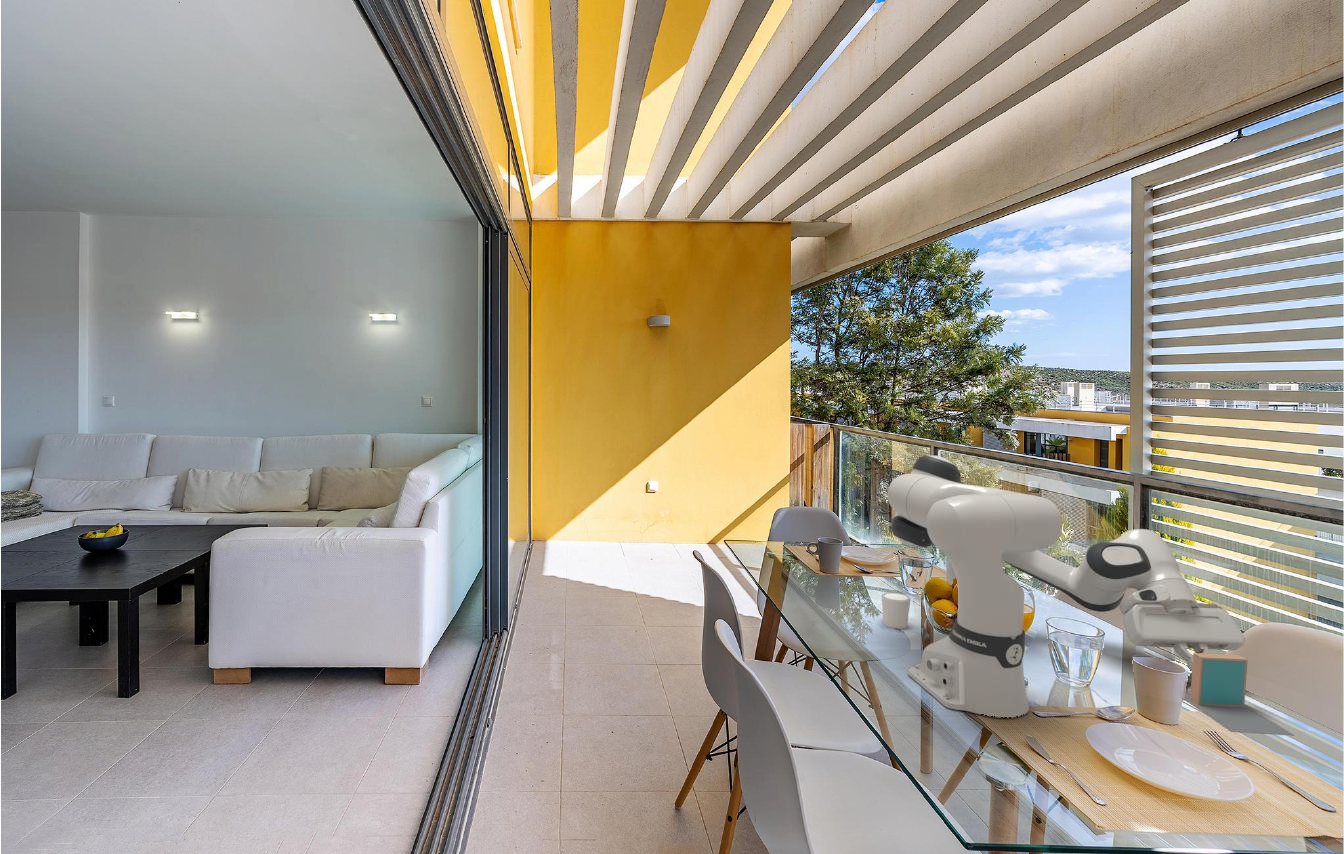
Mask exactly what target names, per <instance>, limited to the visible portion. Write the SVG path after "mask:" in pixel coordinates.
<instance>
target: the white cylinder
mask: <svg viewBox="0 0 1344 854" xmlns="http://www.w3.org/2000/svg"><path fill="white" fill-rule="evenodd" d="M911 601H912V598H911V597H910V596H909V595H907V594H903V593H899V592H885V593H882V594H881V606H882V623H883V625H884V626H886V627H888V628H892V629H893V628H894V629H905V628H907V627H908V623H909V622H908V621H909V614H910V609H911V608H910V607H911Z"/></svg>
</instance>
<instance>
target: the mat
mask: <svg viewBox="0 0 1344 854" xmlns="http://www.w3.org/2000/svg"><path fill="white" fill-rule="evenodd" d="M1185 693H1186V696H1185V698H1184V699H1183V700H1184V701H1185V702H1186V703H1189V704H1190V705H1191V706H1193V707H1194V708H1195V709H1197V710H1199V711H1200V712H1201V713H1203V714H1205V715H1206V716H1207V717H1209V718H1210V719H1212V720H1213V721H1215V722H1216V723H1217V724H1219V725H1221V726H1222V727H1223V728H1225V729H1227V730H1228V731H1230V732H1231V733H1245V734H1246V733H1248V734H1262V735H1263V734H1264V735H1279V736H1280V735H1281V736H1294V734H1293V733H1292V732H1290V731H1288V730H1287V729H1285V728H1284V727H1283V726H1280V725H1279V724H1277V723H1276V722H1274V721H1272V720H1271V719H1269V718H1267V717H1266V716H1265V715H1263V714H1261V713H1259V712H1257V711H1255V710H1254V709H1253V708H1251V707H1249V706H1248V705H1246V704H1244V707H1227V706H1208V705H1197V704H1196V703H1194V702H1193V701H1191V700H1190V696H1191V692H1185Z"/></svg>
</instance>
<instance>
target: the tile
mask: <svg viewBox="0 0 1344 854" xmlns="http://www.w3.org/2000/svg"><path fill="white" fill-rule="evenodd" d="M1192 653H1193V654H1192V656H1193V666H1192V669H1191V681H1190V683H1191V685H1190V693H1191V696H1190V700H1191V701H1193V702H1194V703H1196V704H1197V705H1208V706H1227V707H1244V704H1245V703H1246V702H1245V701H1246V688H1247V675H1248V674H1247V673H1248V664H1249V663H1248V662H1249V659H1248V658H1245V657H1244V656H1242V655H1239V654H1224V653H1222V654H1221V653H1217V654H1216V653H1208V654H1205V653H1195V652H1192ZM1245 705H1246V704H1245Z"/></svg>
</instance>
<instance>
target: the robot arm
mask: <svg viewBox="0 0 1344 854" xmlns="http://www.w3.org/2000/svg"><path fill="white" fill-rule="evenodd" d="M911 468H912V470H911V471H910V473H905V474H904V473H903V474H900V475H898V476H897V477H895V478H894V479H893V480H892V481H891V483H889V486H888V487H887V488H888V489H887V500H888V504H889V506H890V507H891V508H892V509H893V511H895V513H894V516H893V517H892V519H891V526H890V529H891V532H892V534H893V536H894V537H896V538H897V539H898V540H899V541H900V542H901V543H902V544H904V545H907V546H909V547H913V548H928V547H931V546H933V545H934V546H935V548H936V549H938V550H939V551H940V552H941V553H942V554H943V555H945V557H946V559H947V558H948V559H949V561H950V562H951V564H952V567H953V569H954V572H955V575H956V579H957V588H958V611H957V614H956V618H955V619H949V620H945V622H946V623H947V624H945V627H950V626H951V628H950V630H949V633H948V635H946V636H944V637H942V638H940V639H938V640H936V641H934V642H932V643H930V644H928V645H926V647H925V648H923V652H922V655H921V661H920V663H918V664H915V665H912V666H911V667H909V668H908V670H907V675H908V676H909V677H910V678H912V679H913V680H914V682H916V683H917V684H919V686H921V687H922V689H924V690H926V691H927V692H928V693H929V694H930V695H931V696H932V697H933V698H935V699H936V700H937V701H938V702H939V703H941V704H942V705H943V706H944V707H945V708H947V709H951V710H956V711H966V712H969V713H974V714H977V715H981V714H984V715H983V716H985V715H987V716H986V717H991V716H993V717H992V718H1001V717H1003V718H1004V717H1007V719H1008V718H1009V717H1011V718H1017V717H1016V716H1018V717H1022V716H1024V715H1025V714H1027V713H1028V712H1029V710H1030V705H1029V700H1028V697H1027V688H1026V685H1025V684H1026V683H1025V674H1024V673H1025V672H1024V661H1023V658H1024V653H1025V648H1026V647H1025V646H1026V636H1025V635H1026V632H1025V630H1024V612H1025V591H1024V589H1023V587H1022V586H1021V584H1020V583H1019V582H1018V581H1017V580H1016V579H1014V578H1013V577H1012V576H1010V575H1009V574H1007V573H1005V570H1004V566H1003V561H1004V562H1005V563H1006V564H1008V565H1009V566H1011V567H1012V568H1014V569H1015V570H1018V571H1019V572H1022V573H1024V574H1026V575H1027V576H1030V577H1032V578H1034V579H1036V580H1038V581H1040V582H1042V583H1043V584H1046V585H1048V586H1051V587H1053V588H1054V589H1056V590H1059V592H1062V593H1064V594H1065V595H1067V596H1068V597H1070V598H1071V599H1072V600H1073V601H1074V602H1076V603H1077V604H1079V605H1080V606H1081V607H1083V608H1085V609H1086V610H1090V611H1094V612H1098V613H1103V612H1104V613H1105V612H1110V611H1113V610H1115V609H1117V608H1118V607H1119V610H1120V612H1121V613H1122V614H1123V616H1122V623H1123V627H1124V630H1125V633H1126V635H1127V637H1128V640H1129V641H1130V642H1131V643H1132V644H1133V645H1134V646H1136V647H1154V648H1172V649H1173V650H1174V653H1175V654H1177V655H1178V656H1179V657H1180V658H1181V659H1182V660H1183V661H1184V662H1186V665H1187V667H1188V669H1189V670H1192V666H1193V654H1191V653H1190V652H1189V650H1188V649H1193V651H1194V652H1193V653H1205V654H1209V652H1210V651H1209V650H1217V651H1219V650H1220V651H1237V650H1238V649H1240V648H1241V647H1242V646H1244V645H1245V642H1246V638H1245V635H1244V633H1243V632H1242V631H1241V629H1240V628H1239V626H1238V625H1237V623H1236V622H1235V620H1234V619H1233V617H1232V616H1231V615H1230V614H1229V612H1228V610H1227V609H1225V608H1223V607H1221V606H1219V605H1218V604H1216V603H1203V602H1197V599H1196V597H1195V595H1194V593H1193V591H1192V588H1190V587H1191V586H1190V585H1189V583H1188V582H1187V580H1186V579H1185V578H1184V577H1183V576H1182V574H1181V571H1180V564H1179V563H1178V561H1177V558H1176V556H1175V555H1174V554H1173V552H1172V550H1171V548H1170V547H1169V545H1168V544H1167V542H1166V541H1165V539H1163V537H1161V535H1159V534H1158V533H1157V532H1156V531H1153V530H1150V529H1145V528H1137V529H1136V528H1135V529H1130V530H1127V531H1125V532H1123V533H1122V534H1120V536H1119V537H1117V538H1116V539H1113V540H1111V541H1106V542H1105V541H1103V542H1098V543H1095V544H1092V545H1091V546H1090V547H1089V548H1088V549H1087V550H1086V552H1085V554H1084V556H1083V558H1082V560H1081V561H1080V562H1081V563H1080V565H1079V567H1077V566H1076V567H1075V566H1072V565H1069V564H1067V563H1065V562H1063V561H1061V560H1059V559H1057V558H1054V557H1052V556H1050V555H1048V554H1047V553H1043V552H1042V551H1040V550H1042V549H1045V548H1048V547H1051V546H1053V545H1055V544H1056V543H1057V542H1058V541H1059V539H1060V537H1061V535H1062V531H1063V518H1062V515H1061V512H1060V510H1059V509H1058V507H1057V505H1055V503H1054V502H1053V501H1051V500H1050V499H1048V498H1046V497H1043V496H1039V495H1033V494H1029V493H1023V492H1022V493H1021V492H1017V491H1012V490H1011V491H1010V490H1006V489H1000V488H995V487H988V486H981V485H975V484H974V485H973V484H966V483H964V482H962V477H961V473H960V471H959V470H960V469H959V468H958V466H957V465H956V464H954V463H953V462H952V461H950V460H949V459H947V458H946V457H944V456H940V455H935V454H934V455H922V456H920V457H918V458H917V459H916V460H915V463H914V464H913V465H912V467H911ZM1128 589H1134V590H1136V591H1134V592H1133V593H1131V594H1130V595H1129V596H1128V597H1126V598H1125V599H1124V600H1123V598H1124V597H1125V593H1126V592H1127V590H1128ZM1122 601H1123V602H1122ZM1023 714H1024V715H1023ZM1021 715H1022V716H1021ZM994 716H995V717H994Z"/></svg>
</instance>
